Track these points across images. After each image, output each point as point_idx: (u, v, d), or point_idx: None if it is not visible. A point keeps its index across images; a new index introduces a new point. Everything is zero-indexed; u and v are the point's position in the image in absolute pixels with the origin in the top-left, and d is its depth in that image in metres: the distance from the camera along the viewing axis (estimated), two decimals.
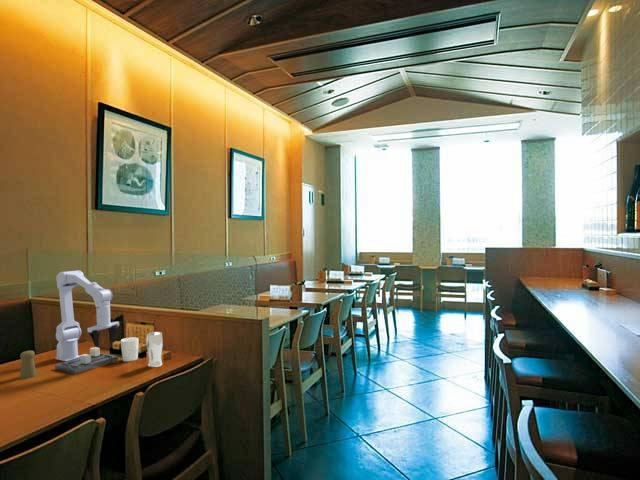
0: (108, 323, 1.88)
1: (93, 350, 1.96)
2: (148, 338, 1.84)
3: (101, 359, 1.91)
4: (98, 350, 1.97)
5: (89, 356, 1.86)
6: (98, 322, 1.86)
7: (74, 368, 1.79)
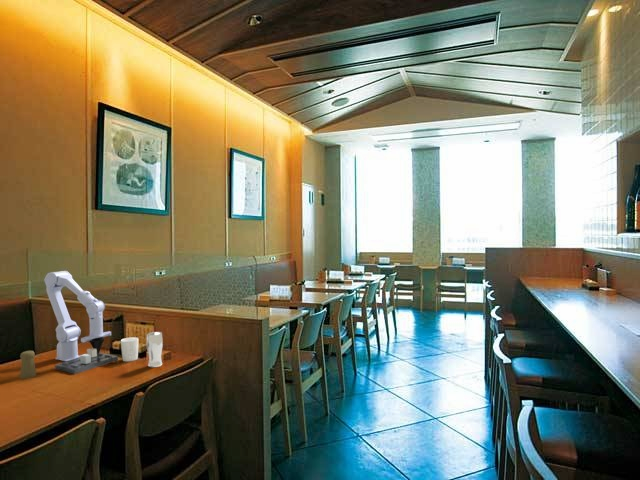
0: (101, 333, 1.97)
1: (90, 351, 1.94)
2: (148, 338, 1.84)
3: (101, 359, 1.91)
4: (95, 351, 1.95)
5: (89, 356, 1.86)
6: (91, 332, 1.95)
7: (74, 368, 1.79)
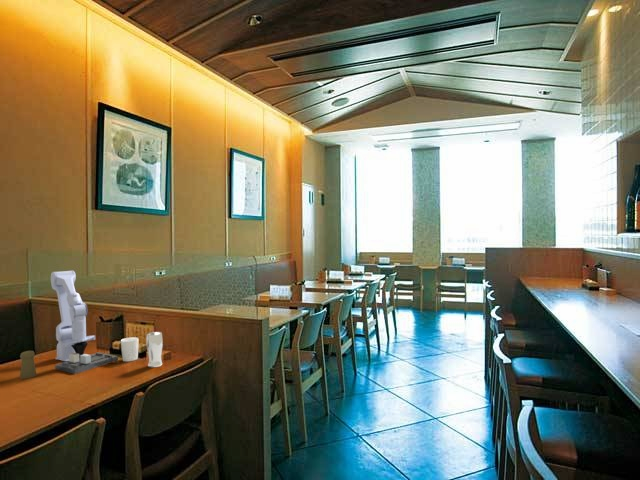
0: (83, 337, 1.90)
1: (72, 356, 1.87)
2: (148, 338, 1.84)
3: (101, 359, 1.91)
4: (77, 356, 1.88)
5: (89, 356, 1.86)
6: (73, 336, 1.88)
7: (74, 368, 1.79)
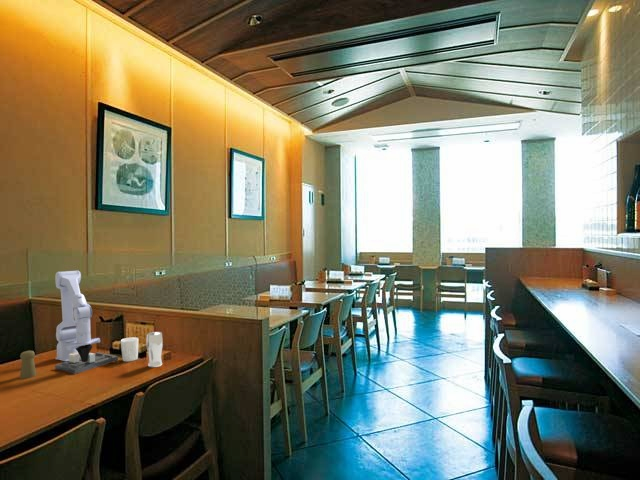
0: (88, 340, 1.84)
1: (72, 356, 1.87)
2: (148, 338, 1.84)
3: (101, 359, 1.91)
4: (77, 356, 1.88)
5: (93, 355, 1.87)
6: (78, 339, 1.83)
7: (74, 368, 1.79)
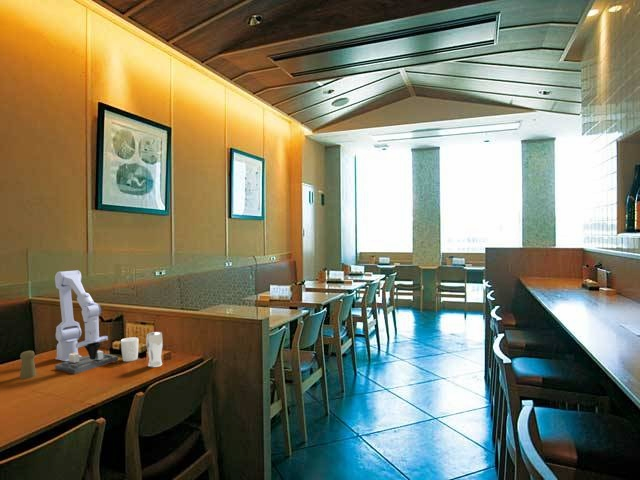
0: (96, 338, 1.88)
1: (72, 356, 1.87)
2: (148, 338, 1.84)
3: (101, 359, 1.91)
4: (77, 356, 1.88)
5: (101, 352, 1.91)
6: (86, 337, 1.86)
7: (74, 368, 1.79)
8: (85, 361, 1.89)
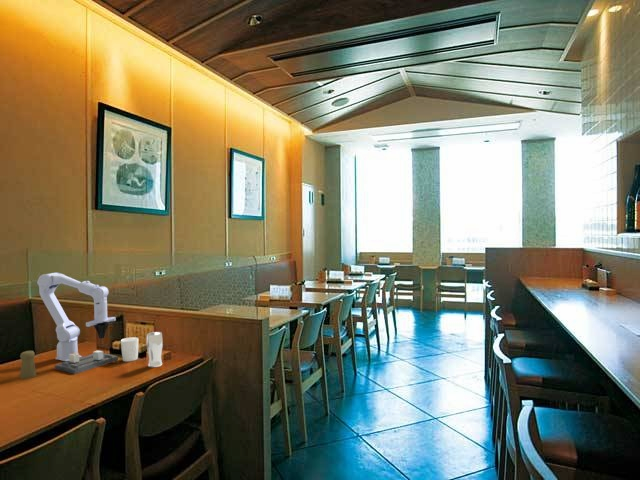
0: (105, 318, 2.00)
1: (72, 356, 1.87)
2: (148, 338, 1.84)
3: (101, 359, 1.91)
4: (77, 356, 1.88)
5: (102, 352, 1.91)
6: (96, 317, 1.98)
7: (74, 368, 1.79)
8: (85, 361, 1.89)
